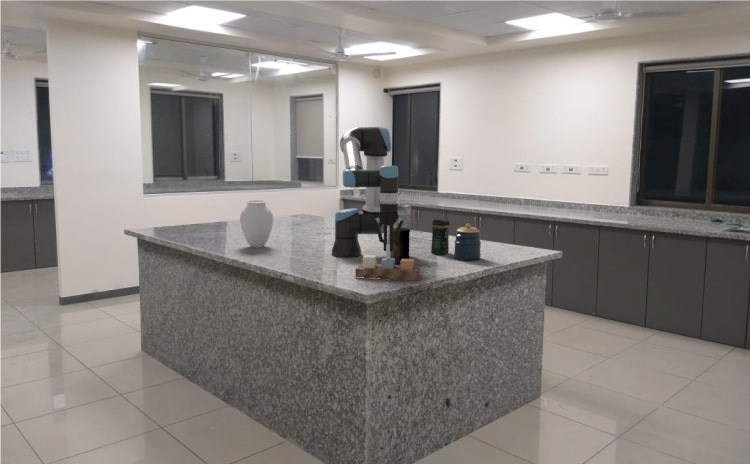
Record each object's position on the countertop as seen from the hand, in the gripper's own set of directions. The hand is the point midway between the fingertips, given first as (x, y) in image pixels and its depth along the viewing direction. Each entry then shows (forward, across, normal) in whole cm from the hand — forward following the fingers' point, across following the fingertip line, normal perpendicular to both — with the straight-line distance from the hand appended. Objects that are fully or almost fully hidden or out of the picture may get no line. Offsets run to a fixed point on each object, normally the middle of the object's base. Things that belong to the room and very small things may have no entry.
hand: (388, 258), depth 242 cm
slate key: (+6, 0, 0) cm, 6 cm away
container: (+8, +3, +19) cm, 21 cm away
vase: (+8, -81, +61) cm, 102 cm away
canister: (+8, +33, +48) cm, 59 cm away
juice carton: (+8, -2, +50) cm, 51 cm away
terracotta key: (+6, +8, 0) cm, 10 cm away
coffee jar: (+8, +19, +60) cm, 64 cm away
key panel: (+8, 0, 0) cm, 8 cm away
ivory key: (+5, -8, 0) cm, 10 cm away
